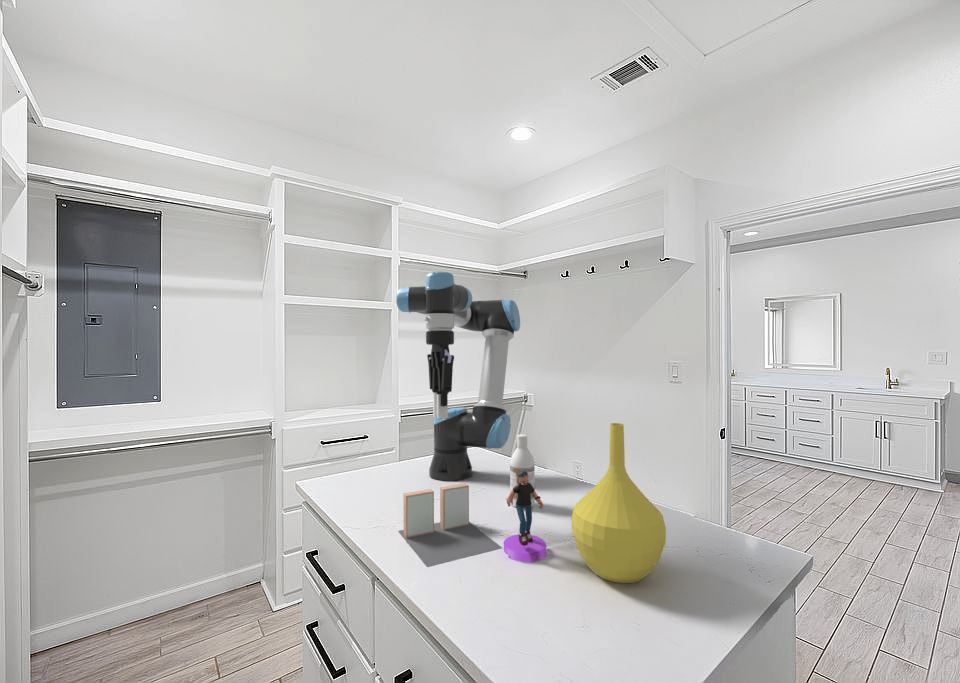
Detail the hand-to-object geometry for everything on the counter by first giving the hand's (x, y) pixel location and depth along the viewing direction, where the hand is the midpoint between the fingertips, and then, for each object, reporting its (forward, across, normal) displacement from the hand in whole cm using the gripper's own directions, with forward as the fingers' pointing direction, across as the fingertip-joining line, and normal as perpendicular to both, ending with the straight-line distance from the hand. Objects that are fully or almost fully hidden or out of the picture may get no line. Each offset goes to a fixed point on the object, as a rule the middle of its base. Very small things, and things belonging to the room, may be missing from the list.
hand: (440, 417), depth 121 cm
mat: (+26, +15, -4) cm, 31 cm away
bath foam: (+27, +4, +24) cm, 36 cm away
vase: (+27, +44, +20) cm, 55 cm away
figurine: (+27, +28, +8) cm, 40 cm away
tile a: (+26, +9, 0) cm, 28 cm away
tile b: (+26, +9, -10) cm, 29 cm away
